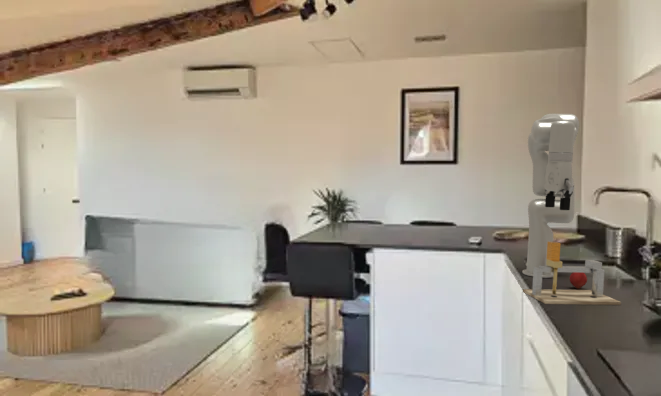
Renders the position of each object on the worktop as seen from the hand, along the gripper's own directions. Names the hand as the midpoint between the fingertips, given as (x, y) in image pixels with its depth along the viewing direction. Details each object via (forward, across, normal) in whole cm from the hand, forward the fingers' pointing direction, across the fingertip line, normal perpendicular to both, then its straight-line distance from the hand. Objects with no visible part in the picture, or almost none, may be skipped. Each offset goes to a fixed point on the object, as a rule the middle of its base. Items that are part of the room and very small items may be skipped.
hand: (556, 208), depth 179 cm
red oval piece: (+31, -12, +17) cm, 37 cm away
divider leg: (+28, +3, -1) cm, 29 cm away
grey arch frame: (+29, +3, +5) cm, 30 cm away
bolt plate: (+31, +2, +6) cm, 31 cm away
